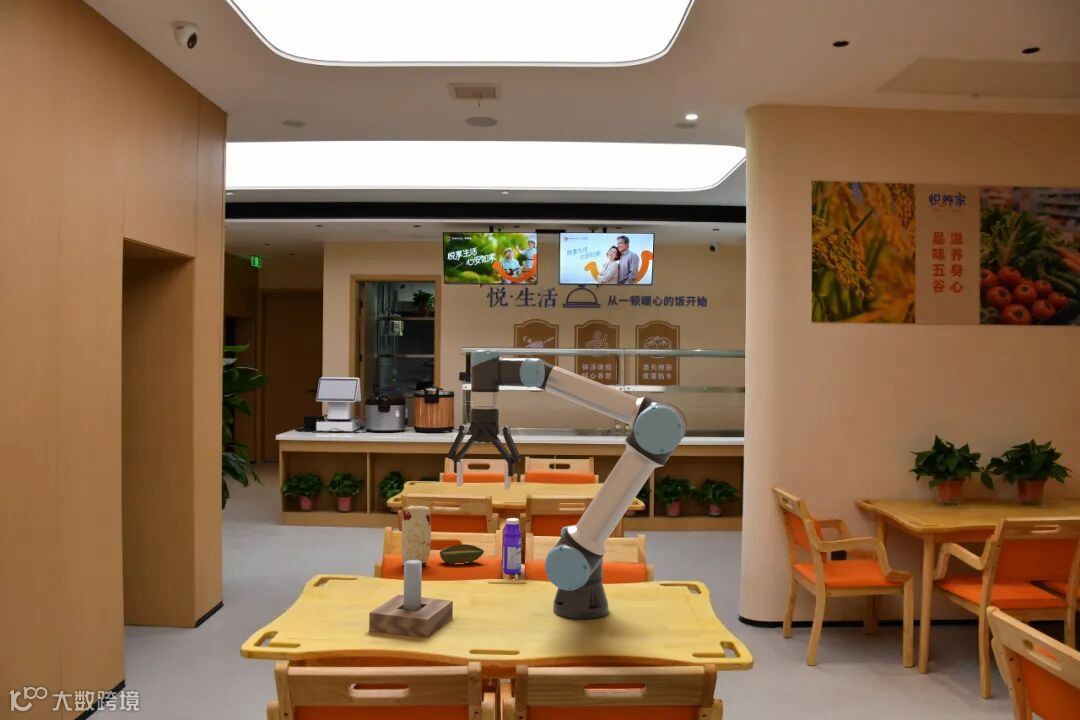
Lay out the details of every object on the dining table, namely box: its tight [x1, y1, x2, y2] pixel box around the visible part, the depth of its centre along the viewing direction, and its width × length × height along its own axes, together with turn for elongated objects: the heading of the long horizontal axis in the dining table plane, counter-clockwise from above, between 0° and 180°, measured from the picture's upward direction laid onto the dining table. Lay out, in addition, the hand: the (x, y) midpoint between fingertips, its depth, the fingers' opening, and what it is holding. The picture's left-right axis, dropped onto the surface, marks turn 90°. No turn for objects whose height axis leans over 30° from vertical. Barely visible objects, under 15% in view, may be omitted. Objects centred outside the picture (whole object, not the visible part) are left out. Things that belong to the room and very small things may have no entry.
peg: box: [403, 560, 423, 611], centre depth 202 cm, size 4×4×16 cm
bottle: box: [502, 517, 522, 576], centre depth 253 cm, size 7×6×17 cm
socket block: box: [368, 594, 454, 639], centre depth 202 cm, size 16×16×4 cm
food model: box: [401, 505, 432, 567], centre depth 260 cm, size 10×7×20 cm
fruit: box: [439, 543, 485, 565], centre depth 263 cm, size 11×12×7 cm
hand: (483, 487), depth 209 cm, fingers open, 13 cm apart
